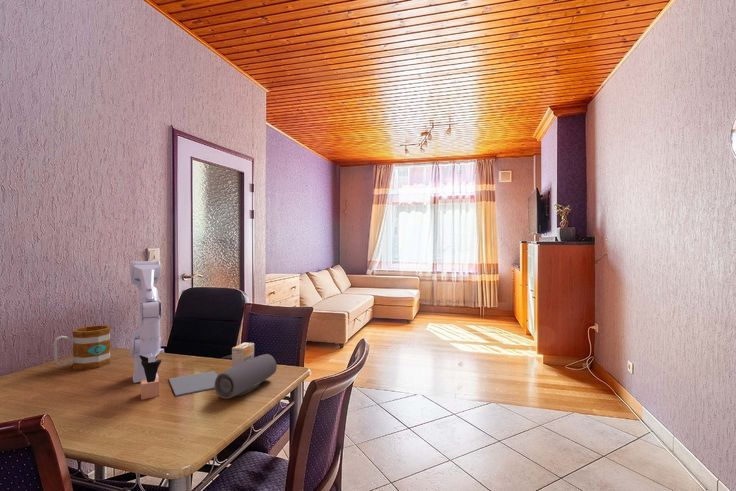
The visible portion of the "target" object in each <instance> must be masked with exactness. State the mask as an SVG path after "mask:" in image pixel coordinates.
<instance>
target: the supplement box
mask: <svg viewBox="0 0 736 491" xmlns="http://www.w3.org/2000/svg"><path fill="white" fill-rule="evenodd" d="M252 358H255V343H254V342H242V343H240V344H238V345H236V346H233V347H232V348H231V368H232V367H234V366H236V365H238V364H240V363H242V362H245V361H247V360H250V359H252Z"/></svg>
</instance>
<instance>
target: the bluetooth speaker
mask: <svg viewBox="0 0 736 491" xmlns="http://www.w3.org/2000/svg"><path fill="white" fill-rule="evenodd" d="M277 367H278V366H277V362H276V359H275V358H274V356H272V355H271V354H269V353H266V354H264V353H263V354H261V355H258V356H254V358H252V359H250V360H247V361H245V362H242V363H240V364H238V365H236V366H234V367H232V366H231V367H230V368H228V369H226V370H224V371H222V372H221V373H219V374H217V375H218V376H217V378H216V380H215V384H214V385H215V389H214V390H215V392H216V394H217V395H218V396H219V397H220V398H222V399H226V400H227V399H231V398H234V397H236V396H239V397H241V396H243V395H246V394H247V393H250V392H251V391H254V390H256V389H257V388H258V387H259V386H260V384H261V383H263V382H264V381H266V380H268V378H270V377H272V376H273V375H274V374H275V373H276V371H277Z"/></svg>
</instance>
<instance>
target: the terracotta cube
mask: <svg viewBox="0 0 736 491" xmlns="http://www.w3.org/2000/svg"><path fill="white" fill-rule="evenodd" d="M158 377H159V376H158ZM158 377H156V379H155V381H154V382H149V383H147V379H143V380H141V382H140V398H141V400H146V399H151V398H156V397H160V379H159V378H158Z"/></svg>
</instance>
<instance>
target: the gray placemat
mask: <svg viewBox="0 0 736 491" xmlns="http://www.w3.org/2000/svg"><path fill="white" fill-rule="evenodd" d="M218 375H219V374H218V373H217V372H216V371H215V370H211V371H210V370H209V371H205V372H200V373H199V372H198V373H193V374H188V375H182V376H177V377H171V378H168V381H169V384H170V387H171V389H172V392H173V393H174V396H175V397H181V396H184V395H190V394H195V393H200V392H206V391H210V390H215V385H214V384H215V380H216V378H217V376H218Z"/></svg>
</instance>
